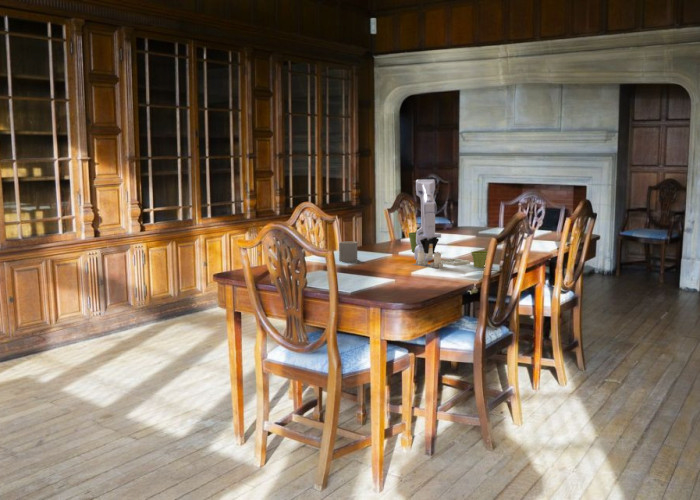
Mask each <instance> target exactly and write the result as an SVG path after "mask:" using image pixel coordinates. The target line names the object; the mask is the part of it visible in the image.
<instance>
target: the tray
mask: <svg viewBox="0 0 700 500" xmlns="http://www.w3.org/2000/svg"><path fill="white" fill-rule="evenodd" d="M441 264H443V265H448V266H458V265H460V266H461V265H465V264H469V265H470V264H471V260H467V259H466V260H465V259H461V258H460V259H459V258H454V257H453V258H447V259H446V258H445V259H441Z"/></svg>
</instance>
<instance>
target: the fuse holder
mask: <svg viewBox="0 0 700 500" xmlns="http://www.w3.org/2000/svg"><path fill="white" fill-rule="evenodd" d="M429 263H430V264H429ZM411 265H412V266H418V267H424V268H430V269H435V270H439V269H446V268H448V267H447V266H444V264H439V268H434V261H432V262H429V261H422V265H418V260H417V259H415V263H412V264H411Z"/></svg>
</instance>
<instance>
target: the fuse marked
mask: <svg viewBox="0 0 700 500" xmlns="http://www.w3.org/2000/svg"><path fill="white" fill-rule="evenodd" d="M426 258H432V259H434V253H433V244H429V252H428V254H426Z"/></svg>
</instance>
